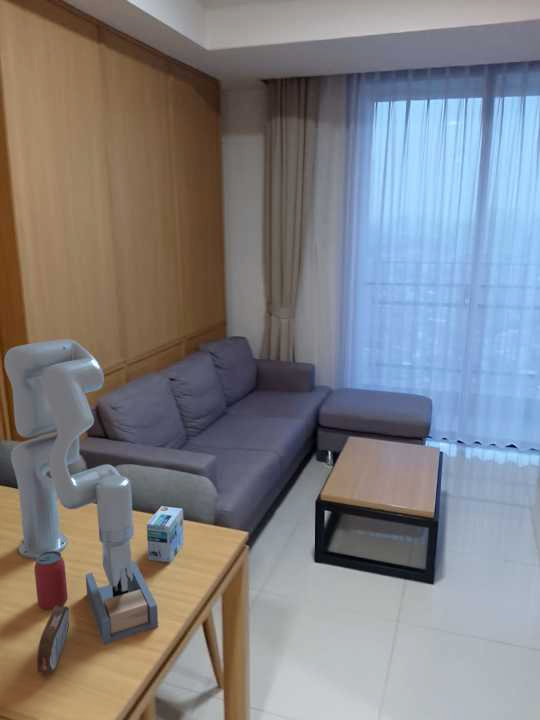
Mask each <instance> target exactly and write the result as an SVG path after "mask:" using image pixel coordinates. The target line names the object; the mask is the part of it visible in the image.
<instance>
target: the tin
mask: <svg viewBox="0 0 540 720" xmlns="http://www.w3.org/2000/svg"><path fill="white" fill-rule="evenodd" d="M69 612H70V608H69V607H68V606H66V605H65V606H63V605H62V606H55V607H54V609H52V610H51V613H50V615H49V618H48V619H47V622H46V625H45V626H44V629H43V631H42V634H41V637H40V640H39V644H38V647H37V648H38V649H37V657H36V669H37V673H38V674H51V673H53V672H54V671H55V670H56V668H57V665H58V663H59V660H60V658H61V655H62V652H63V650H64V647H65V644H66V642H67V637H68V634H69V628H70V619H69V618H70V613H69Z"/></svg>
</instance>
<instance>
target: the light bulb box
mask: <svg viewBox="0 0 540 720" xmlns="http://www.w3.org/2000/svg"><path fill="white" fill-rule="evenodd" d="M184 531H185V530H184V509H183V508H181V507H180V508H178V507H172V506H171V507H170V506H163V505H162V506H161V505H160V508H158V510H156V512H155V513H154V514H153V516H152V517H150V520H149V521H147V523H146V535H147V536H146V537H147V538H146V539H147V559H148V561H149V560H150V561H155V562H162V563H163V562H164V563H172V561H173V560H174V559H175V557H176V556H177V554H178V553H179V551H180V550H181V549H182V547H183V545H184V544H185V539H184V538H185V537H184V533H185V532H184Z"/></svg>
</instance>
